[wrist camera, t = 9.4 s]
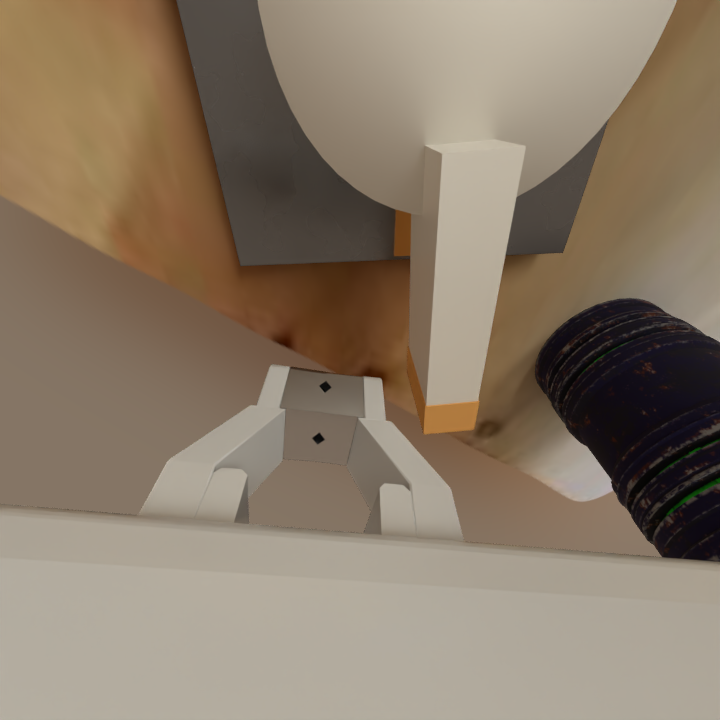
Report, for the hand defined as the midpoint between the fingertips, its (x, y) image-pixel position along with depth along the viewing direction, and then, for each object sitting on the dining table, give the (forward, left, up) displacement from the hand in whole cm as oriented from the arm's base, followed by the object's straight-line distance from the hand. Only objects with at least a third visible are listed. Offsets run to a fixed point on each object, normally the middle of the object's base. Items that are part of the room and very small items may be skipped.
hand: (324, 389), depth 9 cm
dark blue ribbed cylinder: (-20, +10, -13) cm, 26 cm away
